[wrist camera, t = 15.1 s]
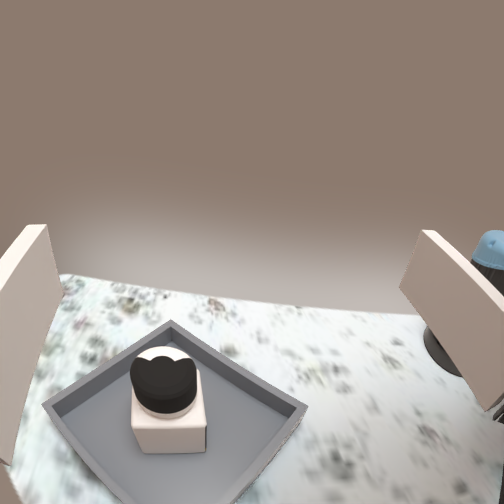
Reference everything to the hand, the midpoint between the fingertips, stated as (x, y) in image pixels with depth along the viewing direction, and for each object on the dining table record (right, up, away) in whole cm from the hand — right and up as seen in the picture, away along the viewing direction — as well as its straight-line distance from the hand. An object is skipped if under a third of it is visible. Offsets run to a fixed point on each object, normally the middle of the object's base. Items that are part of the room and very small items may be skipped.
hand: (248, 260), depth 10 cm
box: (-9, -21, +22) cm, 31 cm away
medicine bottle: (-9, -20, +21) cm, 31 cm away
